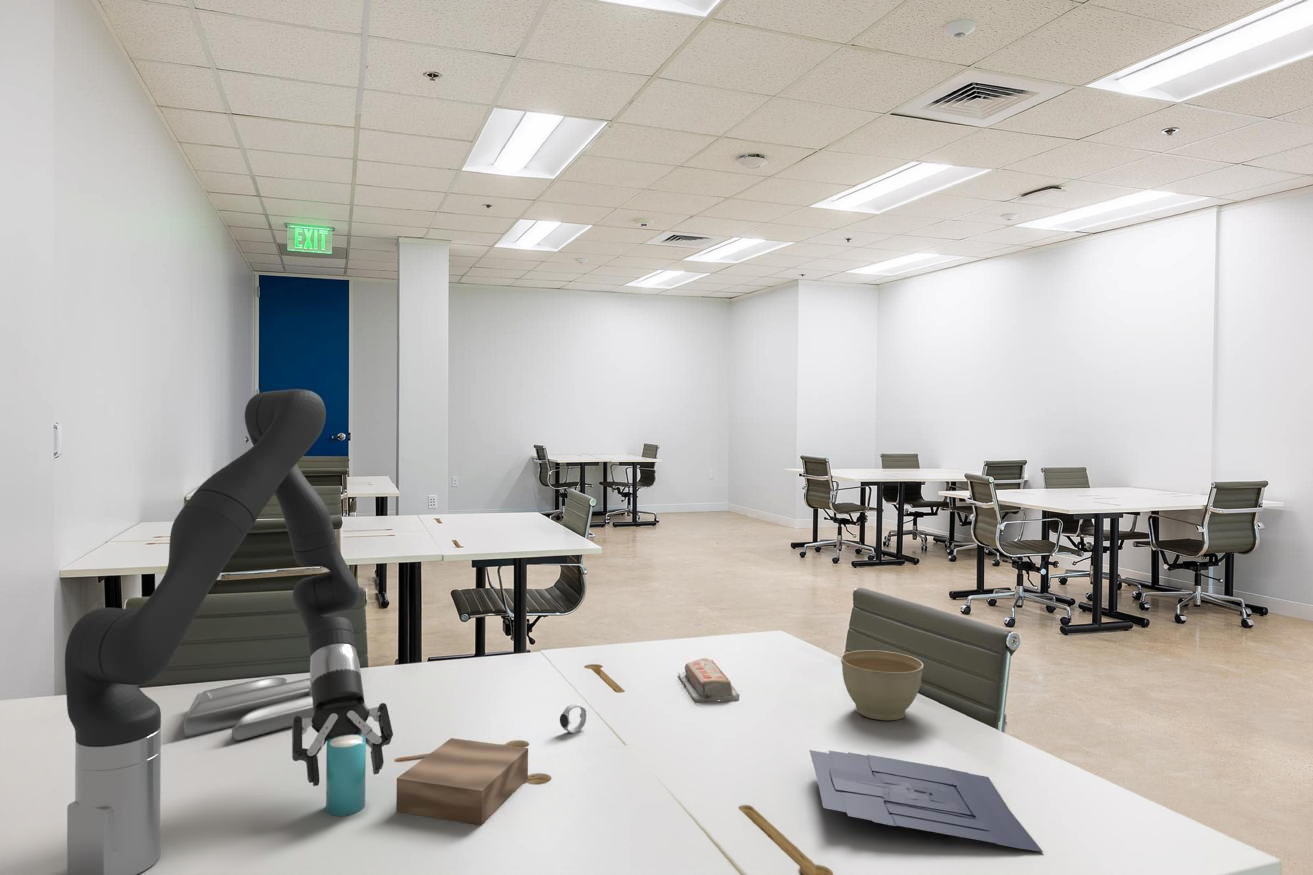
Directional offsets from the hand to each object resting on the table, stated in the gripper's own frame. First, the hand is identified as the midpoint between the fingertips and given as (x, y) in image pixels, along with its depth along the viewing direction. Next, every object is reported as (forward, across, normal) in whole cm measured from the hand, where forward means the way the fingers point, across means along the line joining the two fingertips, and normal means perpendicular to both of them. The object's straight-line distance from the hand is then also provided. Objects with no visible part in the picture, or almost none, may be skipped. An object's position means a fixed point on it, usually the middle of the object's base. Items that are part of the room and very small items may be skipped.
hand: (347, 777), depth 120 cm
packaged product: (-12, +79, +20) cm, 82 cm away
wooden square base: (+6, +17, +1) cm, 18 cm away
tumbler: (+3, 0, +4) cm, 5 cm away
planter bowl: (+9, +102, -2) cm, 102 cm away
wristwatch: (-5, +42, +12) cm, 44 cm away
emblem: (-31, -8, +39) cm, 50 cm away
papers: (+32, +76, -24) cm, 86 cm away
